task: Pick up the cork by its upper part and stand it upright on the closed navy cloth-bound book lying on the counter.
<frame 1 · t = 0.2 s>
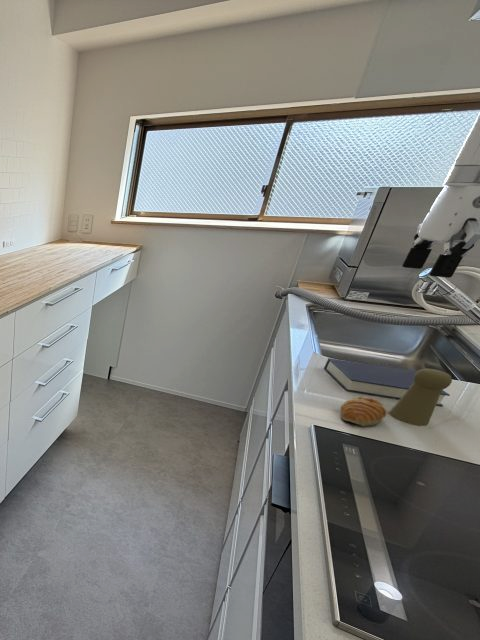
hand: (424, 272, 83), 28 cm above the table, tool pointing down, fingers open, 9 cm apart
cork: (407, 418, 87), on the table
pastry: (359, 419, 86), on the table
book: (378, 386, 101), on the table
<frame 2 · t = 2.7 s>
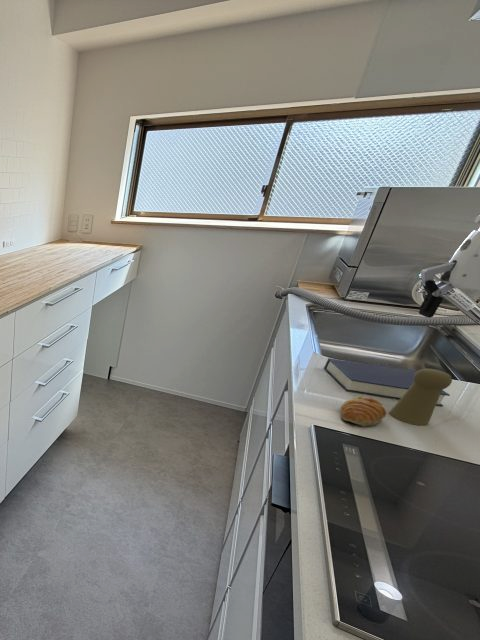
hand: (456, 319, 79), 21 cm above the table, tool pointing down, fingers open, 9 cm apart
nothing on the table moved.
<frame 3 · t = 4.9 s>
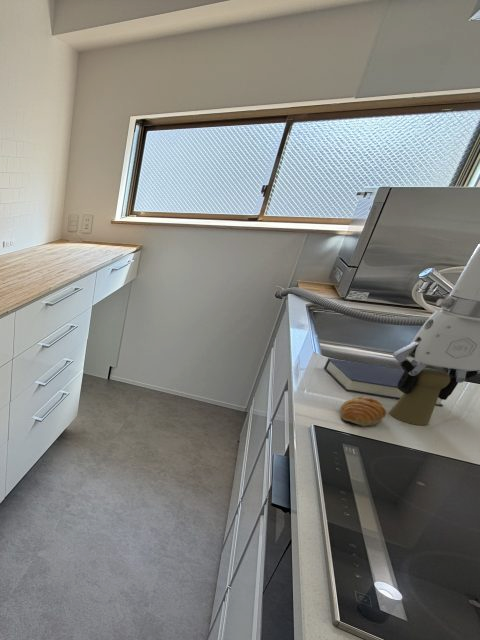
hand: (421, 393, 85), 6 cm above the table, tool pointing down, fingers closed on cork, 5 cm apart
cork: (407, 418, 87), on the table, touching gripper
everything else where it was.
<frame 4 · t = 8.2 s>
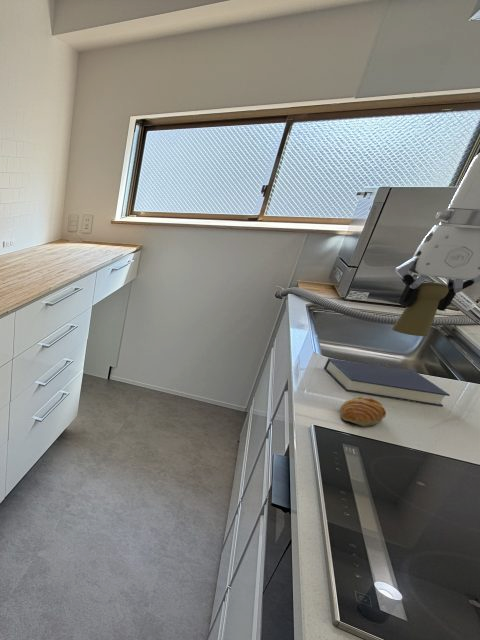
hand: (421, 306, 91), 20 cm above the table, tool pointing down, fingers closed on cork, 5 cm apart
cork: (409, 332, 93), point 14 cm above the table, touching gripper
everything else where it was.
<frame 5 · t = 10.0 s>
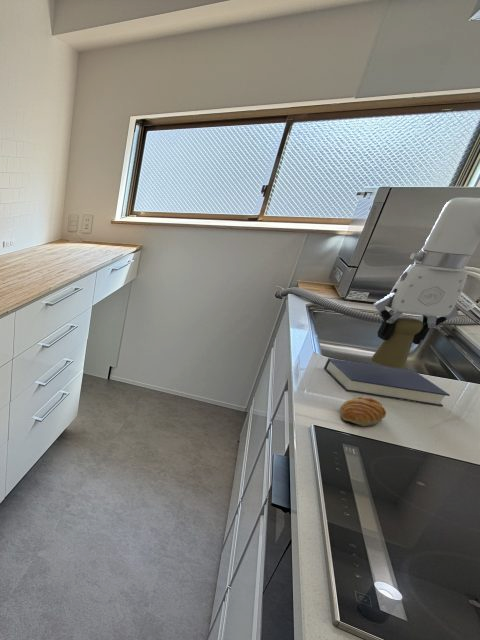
hand: (398, 339, 96), 12 cm above the table, tool pointing down, fingers closed on cork, 5 cm apart
cork: (386, 363, 99), point 6 cm above the table, touching gripper
everything else where it was.
when the fingers open (9 cm above the table, at t = 11.3 s): cork stays where it is, resting on book.
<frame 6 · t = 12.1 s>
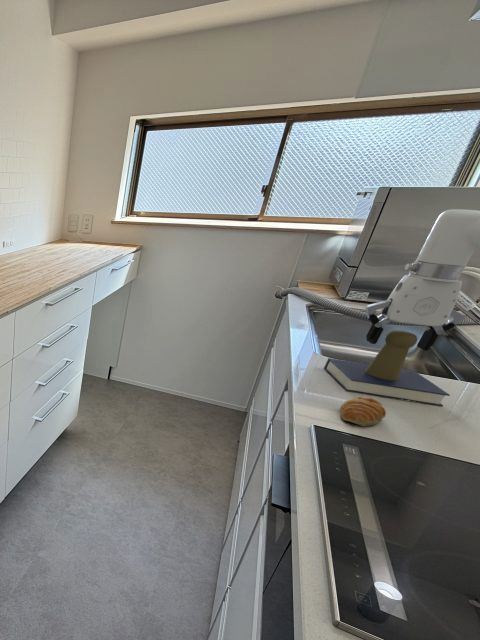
hand: (395, 345, 97), 11 cm above the table, tool pointing down, fingers open, 9 cm apart
cork: (380, 375, 100), point 3 cm above the table, touching book
everything else where it was.
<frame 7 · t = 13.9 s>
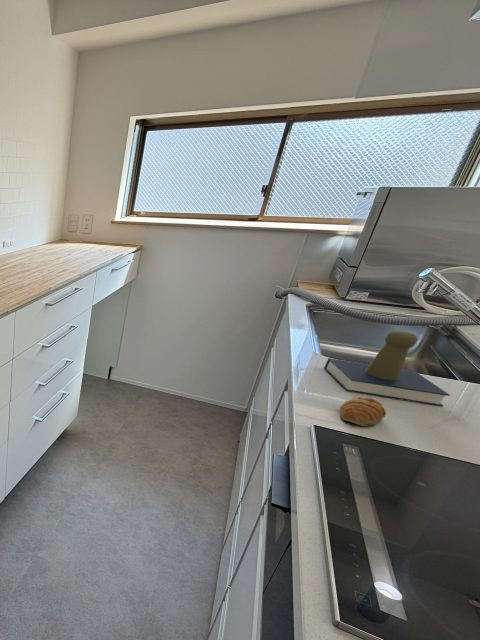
nothing on the table moved.
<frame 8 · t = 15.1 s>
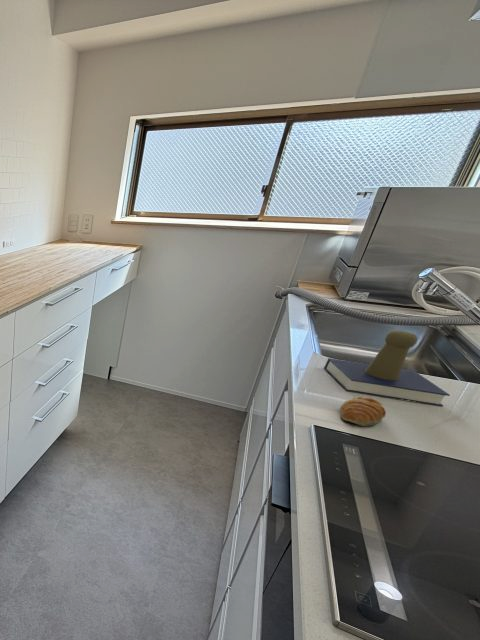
nothing on the table moved.
at the end: cork inside the target area on the book (0.7 cm from its centre), point 2.8 cm above the book's base; cork tilted 0°; the gripper is holding nothing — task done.
